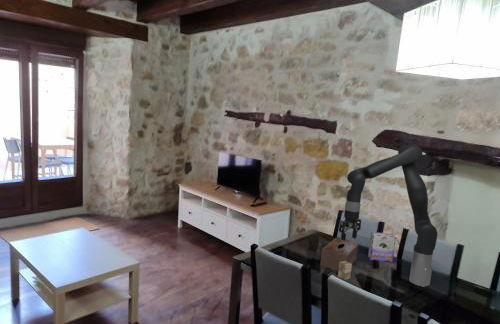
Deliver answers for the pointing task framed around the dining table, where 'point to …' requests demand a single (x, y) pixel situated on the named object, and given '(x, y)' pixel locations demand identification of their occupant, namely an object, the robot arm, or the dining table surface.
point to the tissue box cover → (338, 253)
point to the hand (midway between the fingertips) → (348, 239)
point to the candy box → (381, 247)
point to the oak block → (344, 270)
